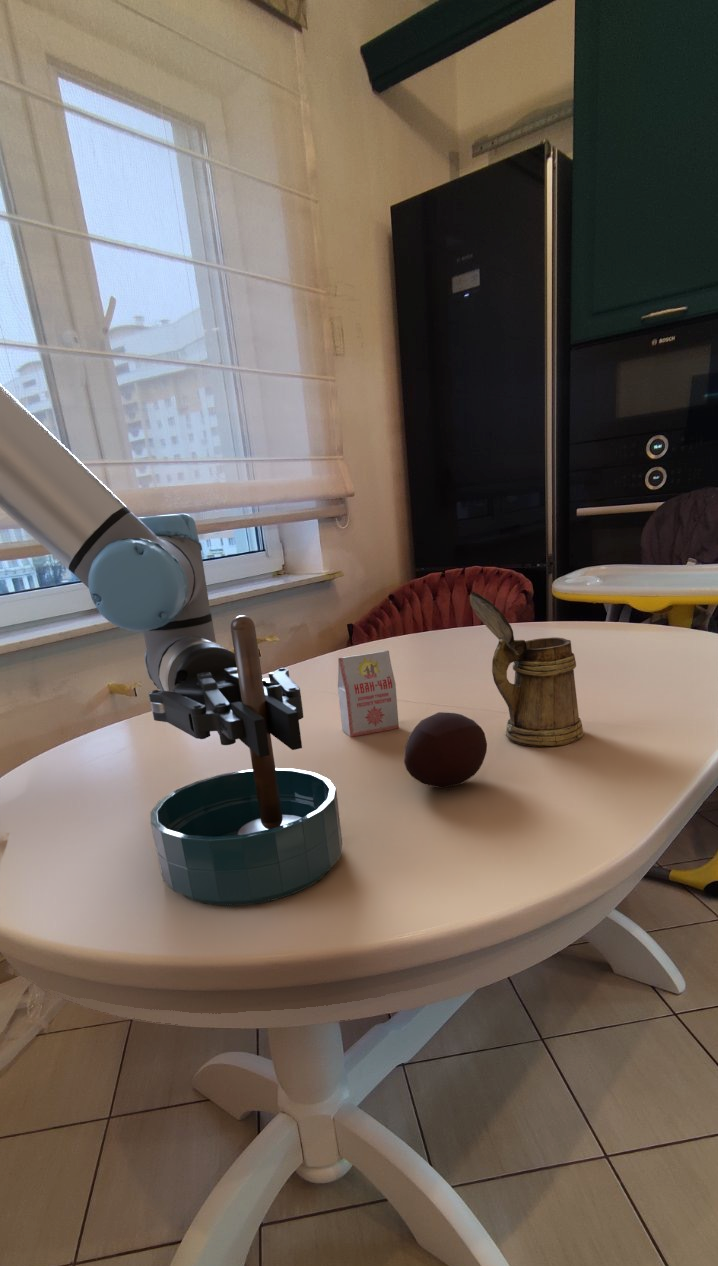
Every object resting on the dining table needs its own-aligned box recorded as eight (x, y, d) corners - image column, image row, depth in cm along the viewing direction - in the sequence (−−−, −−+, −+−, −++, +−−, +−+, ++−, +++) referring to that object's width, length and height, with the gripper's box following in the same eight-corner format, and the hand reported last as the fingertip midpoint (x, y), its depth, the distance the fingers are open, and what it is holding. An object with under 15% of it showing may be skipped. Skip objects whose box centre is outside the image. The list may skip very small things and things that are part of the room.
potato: (506, 783, 74) (505, 710, 71) (434, 808, 70) (429, 731, 67) (457, 765, 80) (454, 697, 78) (387, 786, 76) (381, 716, 73)
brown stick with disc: (228, 869, 59) (184, 624, 52) (261, 838, 65) (225, 611, 57) (294, 875, 57) (258, 620, 50) (323, 842, 63) (294, 607, 55)
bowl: (127, 900, 58) (110, 832, 56) (222, 823, 71) (212, 765, 69) (298, 920, 53) (287, 846, 51) (367, 832, 66) (361, 771, 64)
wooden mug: (459, 738, 89) (453, 588, 83) (557, 720, 92) (559, 574, 86) (491, 759, 81) (487, 594, 75) (597, 738, 84) (603, 578, 78)
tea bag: (342, 730, 97) (334, 656, 94) (389, 721, 99) (383, 648, 95) (350, 736, 94) (342, 660, 90) (398, 728, 96) (393, 652, 92)
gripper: (280, 703, 76) (376, 762, 56) (137, 731, 71) (185, 807, 51) (270, 631, 73) (367, 665, 53) (120, 655, 68) (164, 702, 48)
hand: (278, 734), depth 52 cm, fingers closed on brown stick with disc, 2 cm apart
